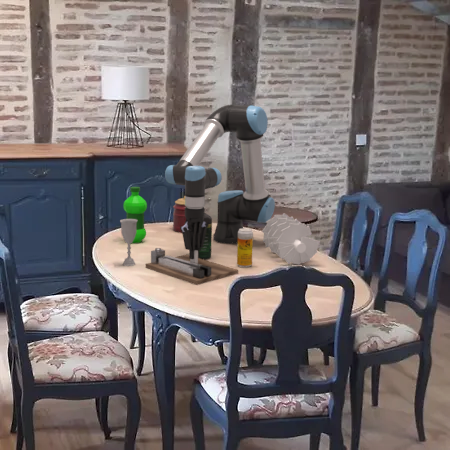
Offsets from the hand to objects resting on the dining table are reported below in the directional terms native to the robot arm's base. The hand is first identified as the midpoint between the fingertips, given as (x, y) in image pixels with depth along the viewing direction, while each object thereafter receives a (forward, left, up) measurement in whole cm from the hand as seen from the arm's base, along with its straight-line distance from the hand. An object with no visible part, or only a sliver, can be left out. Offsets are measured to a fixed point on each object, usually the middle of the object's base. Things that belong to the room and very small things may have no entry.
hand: (194, 266), depth 267 cm
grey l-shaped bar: (+4, -4, -1) cm, 6 cm away
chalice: (+11, -26, -3) cm, 29 cm away
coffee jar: (-19, -15, -3) cm, 25 cm away
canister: (-47, -56, -3) cm, 73 cm away
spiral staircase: (-45, +11, -3) cm, 46 cm away
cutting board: (-2, -3, -3) cm, 5 cm away
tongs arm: (+2, -2, -1) cm, 3 cm away
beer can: (-23, +6, -3) cm, 24 cm away
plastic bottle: (-14, -54, -3) cm, 56 cm away
